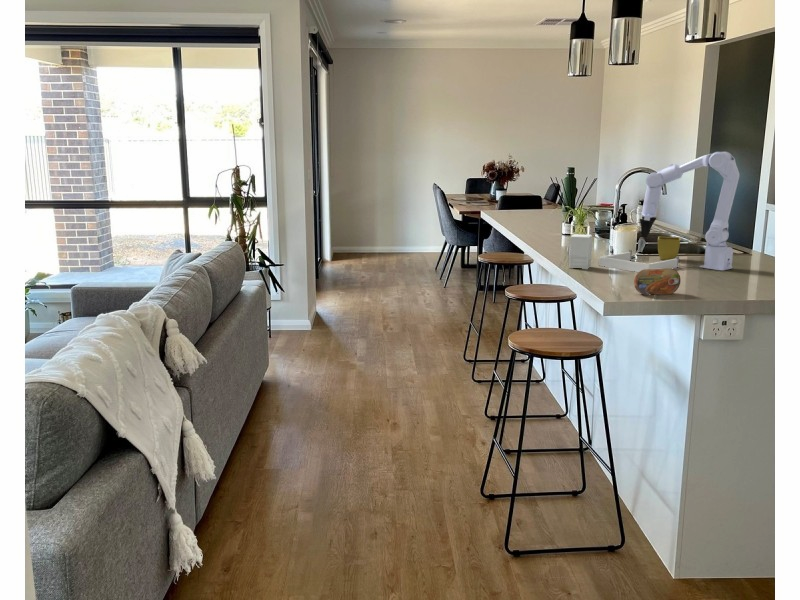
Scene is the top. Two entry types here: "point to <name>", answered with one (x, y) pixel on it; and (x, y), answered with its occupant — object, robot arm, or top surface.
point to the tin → (657, 281)
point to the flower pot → (668, 247)
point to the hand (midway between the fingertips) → (644, 235)
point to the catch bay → (624, 262)
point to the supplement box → (580, 251)
